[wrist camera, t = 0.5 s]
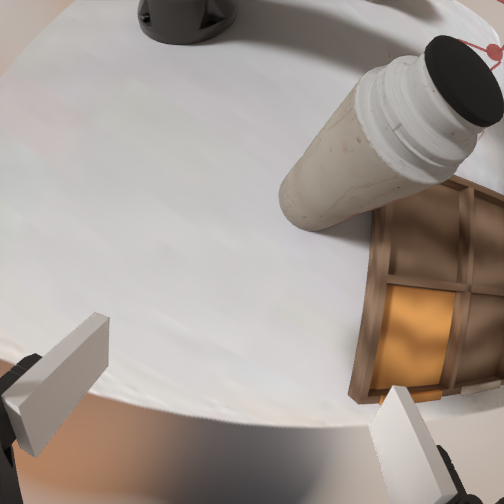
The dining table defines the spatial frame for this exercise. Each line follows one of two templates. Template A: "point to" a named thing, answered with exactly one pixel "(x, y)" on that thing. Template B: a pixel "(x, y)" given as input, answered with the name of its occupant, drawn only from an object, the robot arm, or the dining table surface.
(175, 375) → the dining table surface
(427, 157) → the thermos bottle
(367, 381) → the wooden compartment tray
